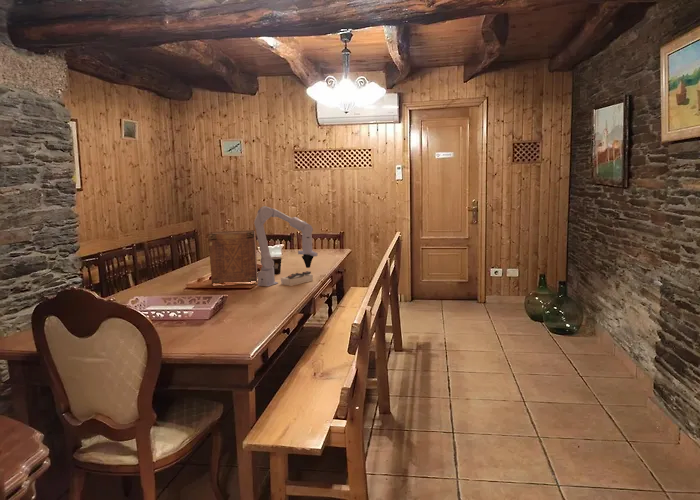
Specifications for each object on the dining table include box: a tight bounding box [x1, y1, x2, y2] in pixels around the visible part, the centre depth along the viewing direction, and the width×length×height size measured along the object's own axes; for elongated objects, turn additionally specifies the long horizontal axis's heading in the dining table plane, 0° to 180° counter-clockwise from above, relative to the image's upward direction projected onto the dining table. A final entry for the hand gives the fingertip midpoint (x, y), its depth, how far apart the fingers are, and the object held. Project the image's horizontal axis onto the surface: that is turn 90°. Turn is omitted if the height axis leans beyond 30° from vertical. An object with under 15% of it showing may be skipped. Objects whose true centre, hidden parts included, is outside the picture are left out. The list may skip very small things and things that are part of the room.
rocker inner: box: [287, 273, 296, 279], centre depth 290 cm, size 4×3×1 cm
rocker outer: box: [301, 270, 312, 275], centre depth 298 cm, size 4×3×1 cm
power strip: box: [280, 273, 314, 287], centre depth 295 cm, size 17×8×4 cm, turn 137°
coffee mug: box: [261, 256, 282, 276], centre depth 322 cm, size 12×9×10 cm
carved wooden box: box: [207, 229, 258, 284], centre depth 295 cm, size 25×9×30 cm, turn 96°
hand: (308, 267), depth 299 cm, fingers closed
